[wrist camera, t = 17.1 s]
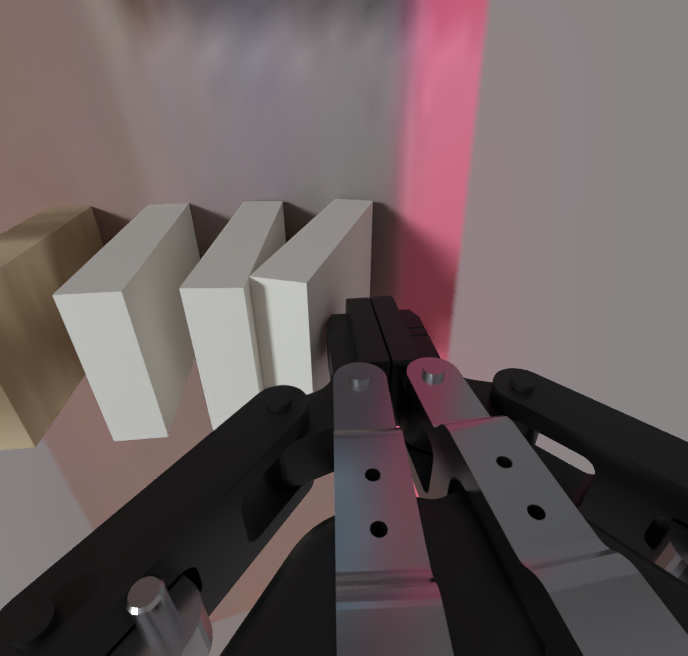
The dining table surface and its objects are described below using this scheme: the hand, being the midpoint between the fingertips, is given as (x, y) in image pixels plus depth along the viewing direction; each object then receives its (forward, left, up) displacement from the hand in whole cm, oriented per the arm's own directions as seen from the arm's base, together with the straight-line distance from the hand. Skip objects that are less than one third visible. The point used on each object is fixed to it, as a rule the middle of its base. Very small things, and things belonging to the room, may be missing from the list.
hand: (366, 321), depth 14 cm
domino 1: (0, -11, -6) cm, 13 cm away
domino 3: (0, -3, -6) cm, 7 cm away
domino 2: (0, -7, -6) cm, 9 cm away
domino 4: (0, 0, -6) cm, 6 cm away
